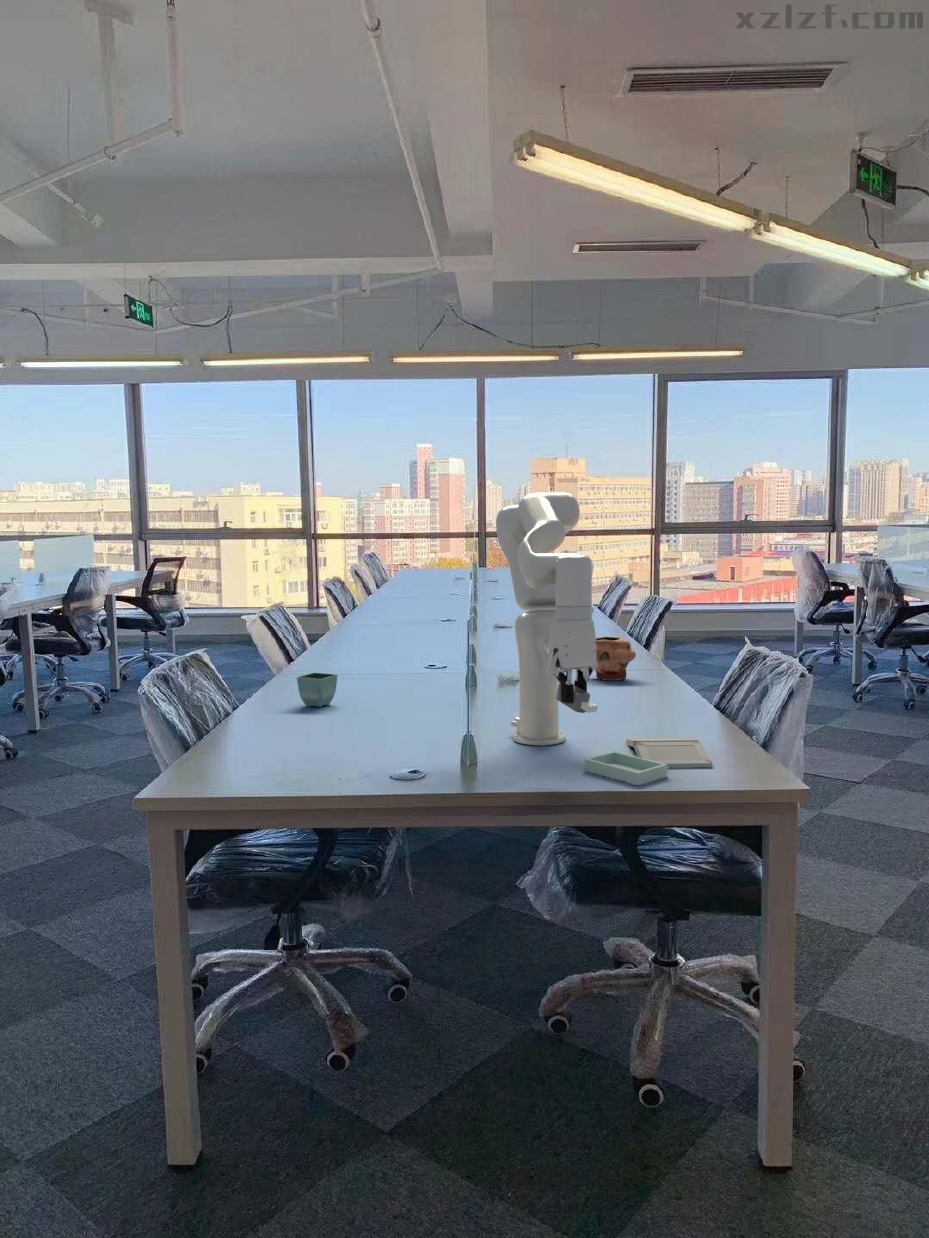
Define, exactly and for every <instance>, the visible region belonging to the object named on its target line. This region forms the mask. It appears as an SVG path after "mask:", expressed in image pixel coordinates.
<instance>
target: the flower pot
mask: <svg viewBox="0 0 929 1238" xmlns="http://www.w3.org/2000/svg"><path fill="white" fill-rule="evenodd" d="M337 681H338V674H335V673H323V672H311V673H307V674H302V675H300V676H297V677H296V683H297V688H298V693H299V697H300V699H301V701H302V702H303V704H304V705H305V706H306V707H311V706H318V707H317V708H319V707H320V708H322V707H321V706H323V705H326V706H329V705H330V704H331V702H332V701H333V700H334V696H335V694H336V691H337ZM328 704H329V705H328ZM307 705H308V706H307ZM323 707H324V706H323Z"/></svg>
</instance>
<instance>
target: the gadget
mask: <svg viewBox="0 0 929 1238" xmlns="http://www.w3.org/2000/svg"><path fill="white" fill-rule="evenodd" d="M625 742H627V743H625V744H626V745H627V746H629V747H632V748H633V749H634V751H635V753H636V757H639V758H643V759H647V760H651V761H655V762H659V763H663V764H667V765H668V768H667V769H695V768H694V767H713V768H714V766H713V762H712V759H711V758H710V756H709V755H708V753H707V752H706V750H705V748H704V747H703V744H702V743H701V741H699V740H697V739H695V738H694V739H692V738H679V737H678V738H675V737H673V738H670V737H669V738H626V740H625ZM671 767H672V768H671ZM683 767H684V768H683ZM685 767H686V768H685ZM691 767H693V768H691Z"/></svg>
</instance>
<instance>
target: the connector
mask: <svg viewBox="0 0 929 1238" xmlns="http://www.w3.org/2000/svg"><path fill="white" fill-rule="evenodd" d="M571 684H573V686H574V692H573V703H571V704H570V703H565V702H562V701H561V683H559V686H558V691H557V696H556V699H557V700H558V701H559V703H561V704H563V705H565V706H566V707H567V708H568V709H571V710H572V711H574V712H576V713H580V714H584V713H588V714H591V713H596V712H597V711H598V706H599V705H598V704H596V703H595V702H593V701H592V700H590V699H591V693H590V692H588V691H587V692H586V691H584V690H583V689H581V688H579V687H577V686H576V685H574V683H573V682H571Z"/></svg>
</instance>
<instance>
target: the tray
mask: <svg viewBox="0 0 929 1238" xmlns="http://www.w3.org/2000/svg"><path fill="white" fill-rule="evenodd" d="M667 767H668V765H667V764H663V763H659V762H655V761H651V760H647V759H643V758H639V757H638V756H634V755H630V754H627V753H623V752H619V751H610V752H607V753H603V754H599V755H598V754H597V755H595V756H591V757H588V758H584V772H587V773H591V774H594V773H596V774H595V775H597V774H599V775H598V776H601V775H602V777H604V776H606V777H605V778H608V777H609V779H612V780H615V779H618V780H617V781H619V780H621V781H620V782H622V781H625V782H624V783H626V782H627V784H629V783H630V785H634V786H636V785H639V786H642V785H645V784H648V783H651V782H654V781H658V779H659V780H662V779H664V778H667V777H668V768H667Z"/></svg>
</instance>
